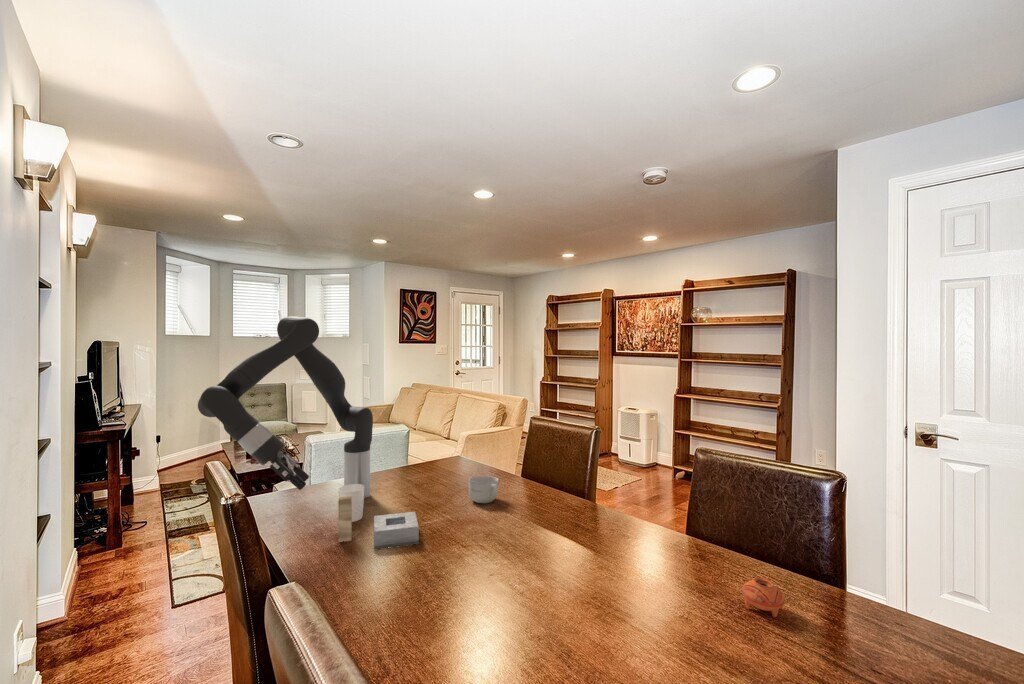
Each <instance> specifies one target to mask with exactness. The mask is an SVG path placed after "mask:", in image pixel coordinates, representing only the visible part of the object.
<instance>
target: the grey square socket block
mask: <svg viewBox="0 0 1024 684" xmlns="http://www.w3.org/2000/svg"><path fill="white" fill-rule="evenodd" d="M419 531H420V530H419V523H418V519H417V514H416V511H409V512H407V511H406V512H399V513H389V514H381V515H374V516H373V534H374V535H373V550H374V549H378V550H382V549H381V548H386V549H389V548H388V547H393V548H398V547H397V546H401V547H407V546H406V545H409V546H414V545H413V544H416V545H419V544H420V542H419V541H420V540H419V538H420V535H419Z"/></svg>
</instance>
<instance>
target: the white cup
mask: <svg viewBox="0 0 1024 684" xmlns="http://www.w3.org/2000/svg"><path fill="white" fill-rule="evenodd" d="M347 495H352V523H354V522H357V521H360V520H362V518H363V516H364V514H363V513H364V505H365V504H364V502H365V499H364V485H361V484H350V485H345V486H344V485H342V486H339V488H338V497H339V496H347Z"/></svg>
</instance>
